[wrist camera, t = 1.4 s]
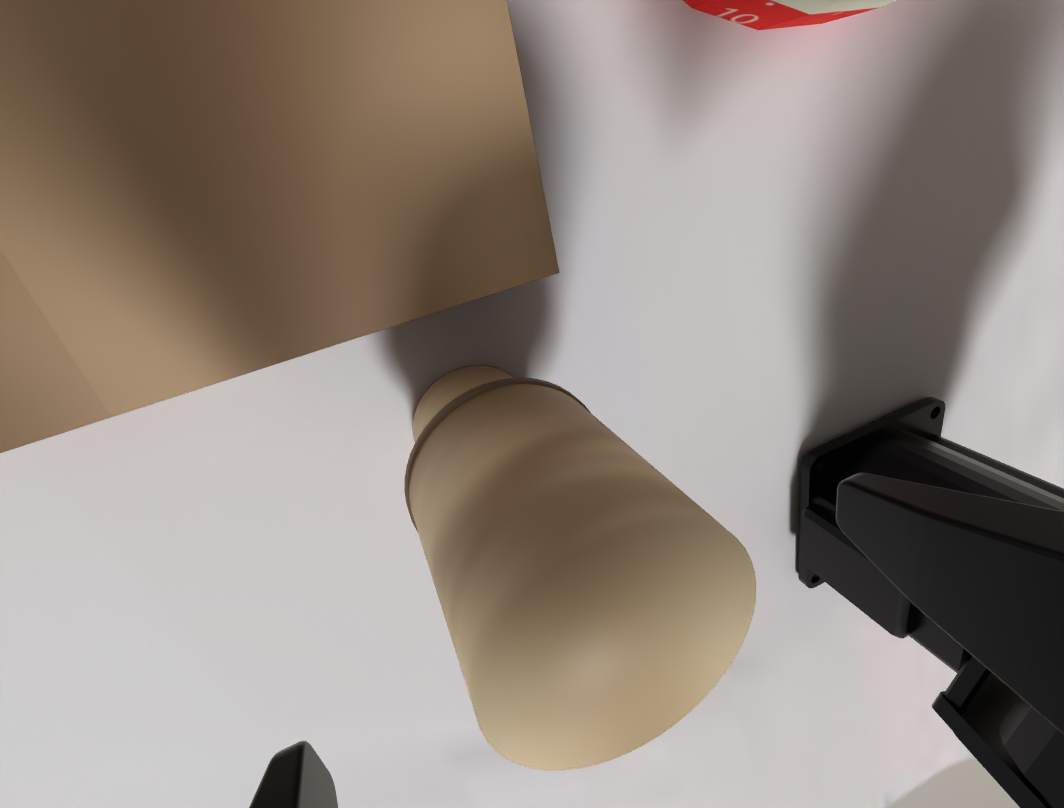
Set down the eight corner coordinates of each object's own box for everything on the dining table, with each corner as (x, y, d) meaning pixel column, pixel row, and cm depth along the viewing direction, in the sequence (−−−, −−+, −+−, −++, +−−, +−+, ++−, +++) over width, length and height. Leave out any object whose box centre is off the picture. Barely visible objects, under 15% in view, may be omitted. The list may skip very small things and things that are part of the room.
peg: (533, 317, 14) (755, 461, 7) (565, 460, 16) (761, 679, 9) (359, 375, 13) (423, 611, 6) (418, 521, 15) (515, 819, 8)
